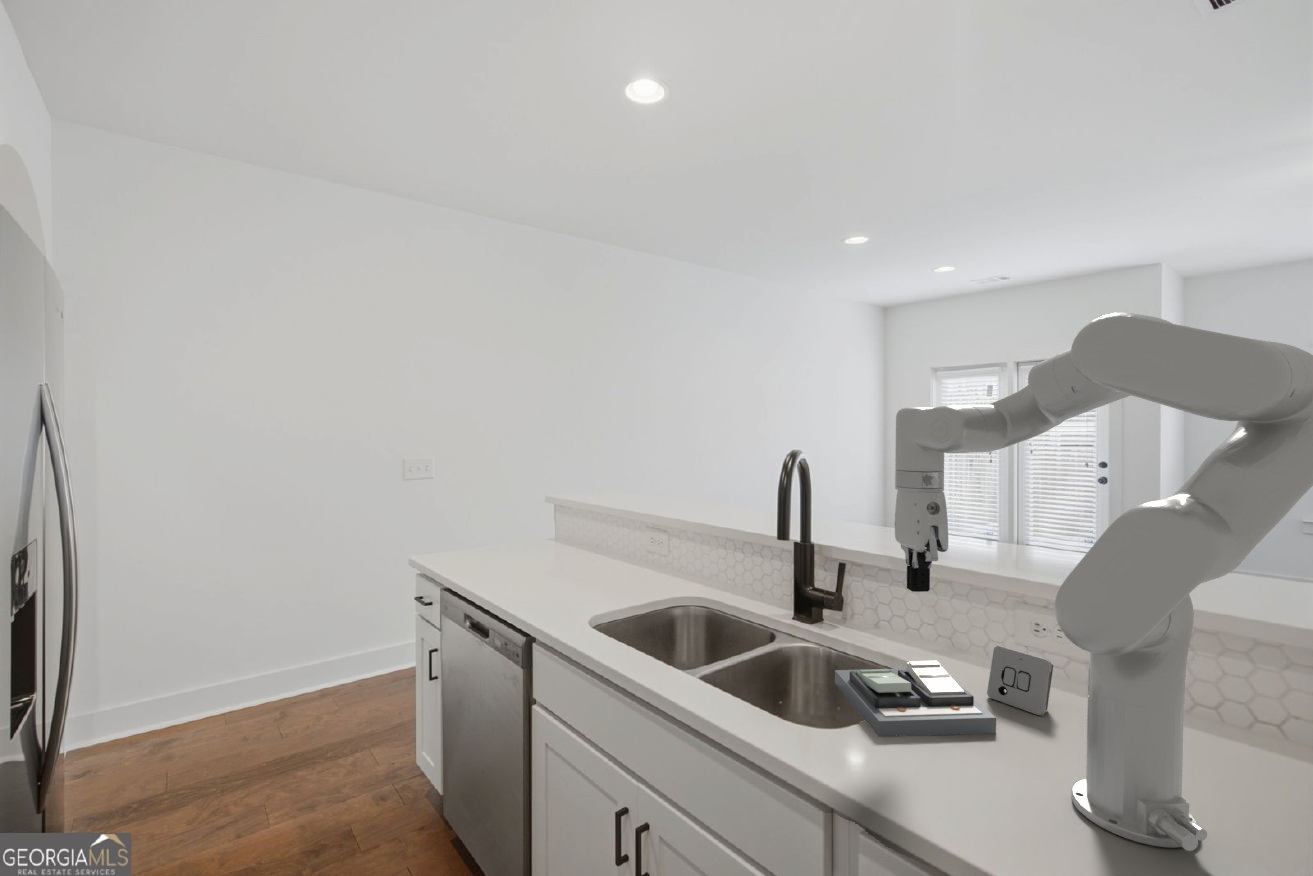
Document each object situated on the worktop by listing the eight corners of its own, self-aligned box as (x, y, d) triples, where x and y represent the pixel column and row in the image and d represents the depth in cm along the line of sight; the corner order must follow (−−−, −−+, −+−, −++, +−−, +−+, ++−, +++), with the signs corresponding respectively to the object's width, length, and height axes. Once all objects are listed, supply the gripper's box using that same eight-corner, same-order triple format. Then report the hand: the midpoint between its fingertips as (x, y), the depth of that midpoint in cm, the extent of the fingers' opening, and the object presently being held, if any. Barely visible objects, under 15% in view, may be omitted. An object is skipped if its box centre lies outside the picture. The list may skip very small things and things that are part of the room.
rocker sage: (911, 692, 104) (910, 680, 104) (878, 693, 103) (877, 681, 104) (888, 680, 113) (887, 668, 113) (858, 680, 112) (857, 669, 112)
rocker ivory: (962, 699, 105) (964, 689, 104) (930, 700, 104) (931, 690, 104) (936, 669, 113) (937, 659, 113) (906, 670, 113) (907, 660, 113)
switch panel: (996, 733, 99) (996, 708, 99) (879, 737, 98) (879, 711, 98) (932, 680, 119) (932, 660, 119) (834, 683, 118) (834, 662, 118)
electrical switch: (985, 698, 112) (989, 645, 112) (1000, 693, 115) (1003, 642, 115) (1042, 718, 104) (1045, 662, 104) (1056, 713, 107) (1059, 658, 107)
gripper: (965, 485, 97) (964, 602, 98) (919, 477, 112) (918, 578, 113) (918, 486, 97) (917, 603, 97) (878, 477, 112) (877, 579, 112)
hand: (918, 590), depth 105 cm, fingers closed
